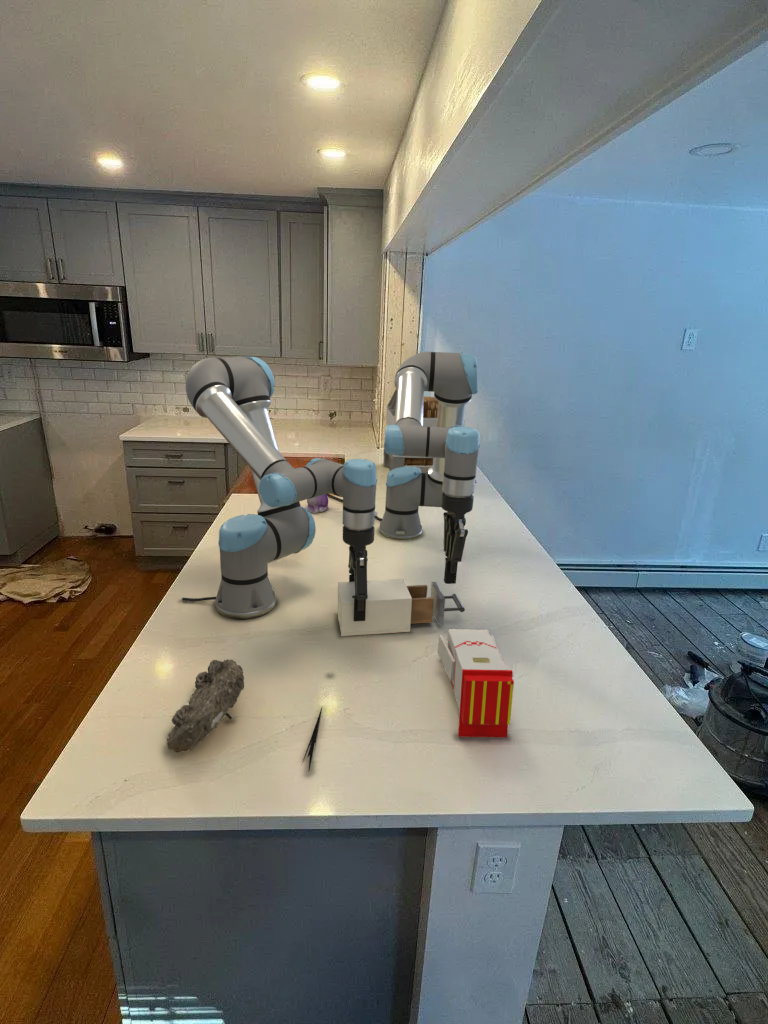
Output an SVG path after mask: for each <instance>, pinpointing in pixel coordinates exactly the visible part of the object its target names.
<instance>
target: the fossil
mask: <svg viewBox="0 0 768 1024" xmlns="http://www.w3.org/2000/svg"><path fill="white" fill-rule="evenodd" d="M243 670H244V669H243V667H242V665H240V664H237V662H236V661H235V660H234V659H232V658H231V659H227V658H226V659H224V660H223V661H222V660H217V659H212V660H211V661H210V663H209V665H208V666H207V671H201V672H199V673H198V674H197V675H196V676H195V680H194V684H195V685H194V687H195V689H194V690H193V693H192V694H191V697H190V698H189V700H188V704H184V705H182V706H181V707H180V709H177V710H176V711H175V713H174V715H173V716H172V718H171V723H172V724H173V727H172V730H171V731H170V732H168V734H167V738H166V741H167V742H166V745H167V749H168V750H169V751H173V752H174V753H176V754H178V753H182V752H188V751H189V752H192V751H193V750H195V748H196V747H197V746H199V744H200V743H201V742H203V741H204V740H205V739H206V738H207V737H208V736H209V735H210V734H211V733H212V732H214V730H215V729H217V727H218V726H219V724H220V722H221V721H222V720H223V719H224V718H225V716H226V717H227V719H229V720H233V717H232V715H230V714H229V710H230V709H231V708H234V706H235V704H236V703H237V702H238V699H239V697H240V695H241V693H242V691H243V690H245V689H244V688H245V675H244V671H243Z"/></svg>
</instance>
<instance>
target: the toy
mask: <svg viewBox="0 0 768 1024" xmlns="http://www.w3.org/2000/svg"><path fill="white" fill-rule="evenodd" d="M446 640H447V643H446V641H445V639H444V636H443V635H442V634H439V637H438V646H437V656H438V657H439V659H440V661H441V663H442V666H443V668H444V670H445V672H446V674H447V677H448V679H449V681H450V684H451V687H452V690H453V693H454V697H455V701H456V705H457V708H458V711H459V714H458V715H459V716H458V730H457V731H458V732H457V737H458V738H508V731H509V726H510V725H511V717H512V707H513V697H514V696H513V695H514V684H515V680H514V679H513V673H514V671H513V670H512V669H508V667H507V665H506V662H505V661H504V659H503V658H502V655H501V653H500V651H499V649H498V647H497V643H496V639H495V637H494V635H493V634H491V632H490V631H489V629H467V628H466V629H465V628H463V629H461V628H460V629H459V628H448V630H447V639H446Z"/></svg>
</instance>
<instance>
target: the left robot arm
mask: <svg viewBox="0 0 768 1024" xmlns="http://www.w3.org/2000/svg"><path fill="white" fill-rule="evenodd" d="M274 377H275V376H274V374H273V371H272V369H271V367H270V366H269V365H268V363H266V362H265V361H264V360H263V359H261V358H260V357H257V356H247V355H241V356H231V357H230V356H228V357H227V356H225V357H208V358H207V357H206V358H203V359H201V360H199V361H197V362H196V363H194V365H192V367H190V370H188V373H187V376H186V378H185V393H186V396H187V399H188V402H189V403H190V405H191V407H192V409H194V411H195V412H196V413H197V414H198V415H199V416H200V417H202V418H206V419H208V421H209V422H210V423H211V424H212V425H213V426H214V428H215V429H216V430H217V431H218V432H219V434H220V435H221V436H222V437H223V438H224V439H225V440H226V442H227V443H228V444H229V445H230V446H231V447H232V449H233V450H234V452H235V453H237V454H238V456H239V457H240V458H241V459H242V460H243V462H244V463H245V464H246V465H247V466H248V468H249V469H250V472H251V476H252V478H253V482H254V485H255V489H256V493H257V496H258V499H259V503H260V505H259V507H258V509H257V511H256V513H257V514H254V513H247V514H240V515H236V516H233V517H231V518H228V519H227V520H225V521H224V522H223V523H222V524H221V526H220V528H219V530H218V540H217V541H218V543H217V544H218V548H219V558H220V559H219V562H220V576H221V577H220V578H221V579H220V584H219V587H218V590H217V593H216V596H207V597H198V598H197V597H195V598H193V597H181V601H185V602H205V601H215V609H216V610H215V611H216V612H217V613H218V614H220V615H221V616H223V617H226V618H230V619H236V620H245V619H246V620H247V619H249V620H250V619H255V618H259V617H261V616H264V615H266V614H268V613H270V612H271V611H272V610H274V608H275V606H276V604H277V603H276V602H277V601H276V597H277V596H276V590H275V588H274V587H273V585H272V583H271V580H270V578H269V574H268V572H269V571H268V564H269V563H271V562H274V561H277V560H279V559H283V558H285V557H287V556H290V555H293V554H298V553H300V552H301V551H303V550H306V549H307V548H309V547H310V546H311V545H312V544H313V542H314V539H315V537H316V532H317V531H316V530H317V529H316V522H315V518H314V516H313V513H312V512H309V510H308V509H307V507H305V506H302V505H301V502H303V501H307V499H310V498H314V497H318V496H321V495H324V494H330V495H332V496H335V497H338V498H342V499H343V502H342V525H343V526H342V541H343V543H345V544H346V545H348V550H349V552H348V564H347V568H348V574H349V575H348V582H355V596H352V598H354V621H365V612H366V599H367V598H368V595H367V581H368V550H367V546H369V545H372V544H374V541H375V534H376V533H375V532H376V531H375V530H376V529H375V524H376V523H375V521H376V518H375V517H374V516H377V517H378V512H377V511H376V496H377V495H376V494H377V483H378V478H377V465H376V463H375V462H373V461H372V460H370V459H366V458H365V459H362V458H352V459H347V460H346V461H345V462H344V463H339V462H335V461H333V460H330V459H327V458H320V457H315V458H312V459H311V460H309V462H307V463H306V465H304V466H300V467H293V466H292V465H291V464H290V462H289V461H288V460H287V459H286V458H285V457H284V455H282V453H281V452H280V449H279V446H278V442H277V438H276V435H275V432H274V429H273V424H272V421H271V418H270V414H269V411H268V410H269V408H270V405H271V404H272V400H271V397H272V396H273V395H274V392H275V388H274V387H275V386H276V382H275V378H274Z"/></svg>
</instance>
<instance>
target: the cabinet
mask: <svg viewBox="0 0 768 1024" xmlns="http://www.w3.org/2000/svg"><path fill="white" fill-rule="evenodd" d="M407 586H408V585H407V583H406V581H405V579H404V578H399V579H398V578H397V579H380V580H379V579H378V580H367V595H368V598H367V599H366V612H365V621H354V598H352V596H355V582H349V581H340V582H337V619H338V625H339V630H340V636H341V637H348V636H349V637H350V636H365V635H381V634H393V633H394V634H395V633H397V634H398V633H410V632H411V625H412V624H411V606H412V598H411V595H410V593H409V591H408V588H407Z"/></svg>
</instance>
